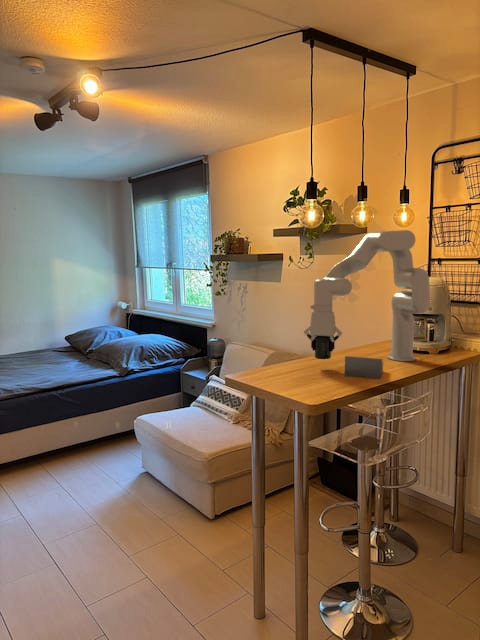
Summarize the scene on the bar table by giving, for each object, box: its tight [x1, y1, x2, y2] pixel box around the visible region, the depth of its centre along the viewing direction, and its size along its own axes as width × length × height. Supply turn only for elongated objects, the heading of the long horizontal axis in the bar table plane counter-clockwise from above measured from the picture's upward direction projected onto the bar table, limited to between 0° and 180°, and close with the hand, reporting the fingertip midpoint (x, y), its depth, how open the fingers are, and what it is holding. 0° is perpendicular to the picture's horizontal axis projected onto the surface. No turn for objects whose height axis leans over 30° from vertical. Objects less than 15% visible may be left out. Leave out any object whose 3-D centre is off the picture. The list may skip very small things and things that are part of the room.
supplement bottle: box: [314, 336, 332, 360], centre depth 196 cm, size 7×7×12 cm
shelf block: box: [344, 355, 384, 380], centre depth 189 cm, size 14×14×8 cm
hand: (322, 350), depth 196 cm, fingers closed on supplement bottle, 6 cm apart
